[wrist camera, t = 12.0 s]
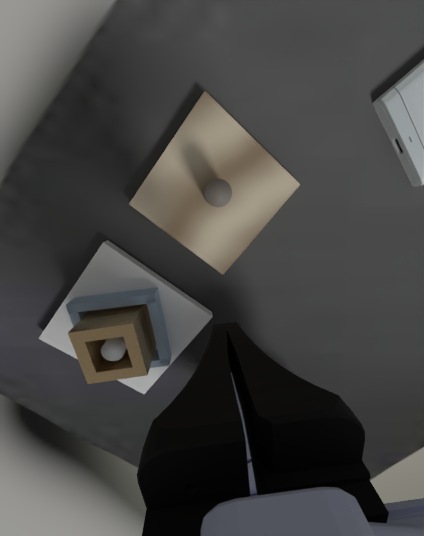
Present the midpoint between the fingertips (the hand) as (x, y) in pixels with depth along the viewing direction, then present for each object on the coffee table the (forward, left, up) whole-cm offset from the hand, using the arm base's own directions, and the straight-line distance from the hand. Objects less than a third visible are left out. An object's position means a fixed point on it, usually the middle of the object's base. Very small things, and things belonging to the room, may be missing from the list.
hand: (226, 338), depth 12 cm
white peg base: (+4, +9, -9) cm, 14 cm away
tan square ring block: (+4, +9, -8) cm, 13 cm away
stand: (+5, -6, -9) cm, 12 cm away
